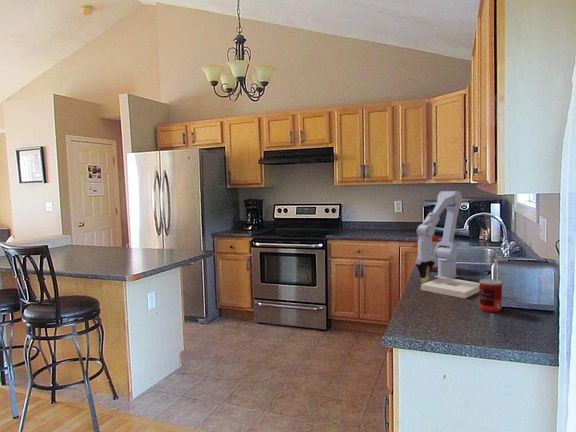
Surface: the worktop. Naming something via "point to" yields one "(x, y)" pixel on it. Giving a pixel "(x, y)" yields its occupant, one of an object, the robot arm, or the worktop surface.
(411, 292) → the worktop surface
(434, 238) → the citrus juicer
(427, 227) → the robot arm
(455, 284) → the holder board
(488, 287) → the canned food
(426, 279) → the maple dowel
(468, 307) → the worktop surface
